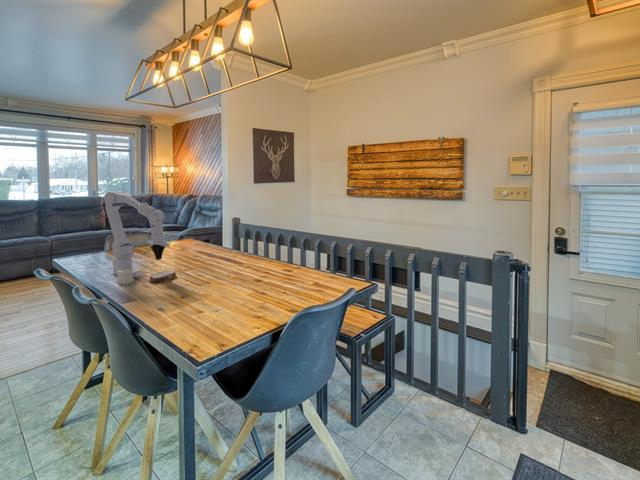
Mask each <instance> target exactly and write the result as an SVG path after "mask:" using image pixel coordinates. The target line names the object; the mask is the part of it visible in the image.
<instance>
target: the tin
mask: <svg viewBox="0 0 640 480" xmlns="http://www.w3.org/2000/svg"><path fill="white" fill-rule="evenodd" d="M176 277H177V275H176V271H173V270H164V271H163V270H162V271H160V272H157V273H155V274H152V275H150V276H149V282H150V283H152V284H159V283H161V284H162V283H165V282H167V281H169V280H174V279H175V278H176Z"/></svg>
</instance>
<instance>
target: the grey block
mask: <svg viewBox="0 0 640 480" xmlns="http://www.w3.org/2000/svg"><path fill="white" fill-rule="evenodd" d="M133 271H134V269H133V270H129V269H124V270H120V271H117V275H116V277H117V278H116V279H117V283H118V284H121V285H127V284H131V283H134V282H135V280H134V279H135V278H134V273H133Z"/></svg>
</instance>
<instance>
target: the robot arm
mask: <svg viewBox="0 0 640 480" xmlns="http://www.w3.org/2000/svg"><path fill="white" fill-rule="evenodd" d="M103 201H104V204H105V208H104V209H105V211H106V216H107V219H108V223H109V225H110V228H111V232H112V235H113V238H114V242H113V243H112V245H111V249H112V250H111V254H112V256H113V257H114V258H113V260H112V268H113V269H112V270H113V272H112V273H111V275H116V276H117V271H120V270H124V269H129V270H133V274H136V273H137V271H134V269H133V268H134V267H133V255H134V254H135V251H136V249H135V247H134V245H133V244H132V242H131V241H130V240H129V239H128V238H127V235H126V232H125V229H124V227H123V223H122V218H121V216H120V212H119V210H120V208H121V207H122V206H124V205H125V204H127V205H129V206H131V207H133V208H134V209H136V210H137V213H139V214H140V215H142V216H144V217H146V218H147V220H148V221H149V225H150V237H151V240H147V241H146V246H149V245H150V249H151V250H152V253H153V254H154V257H155V259H156V260H158V261H159V260H162V258H163V252H164V250H165V249H166V248H169V247H170V242H167V241H164V223H163V221H164V219H165V217H166V216H165V212H164V211H163V210H161V209H156V207H153V206H151V205H149V203H148V202H139V201H138V200H137V199H135V198H133V197H132V196H130V194H129V193H127V192H125V191H123V190H122V191H106V192H105V194H104V196H103Z"/></svg>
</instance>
